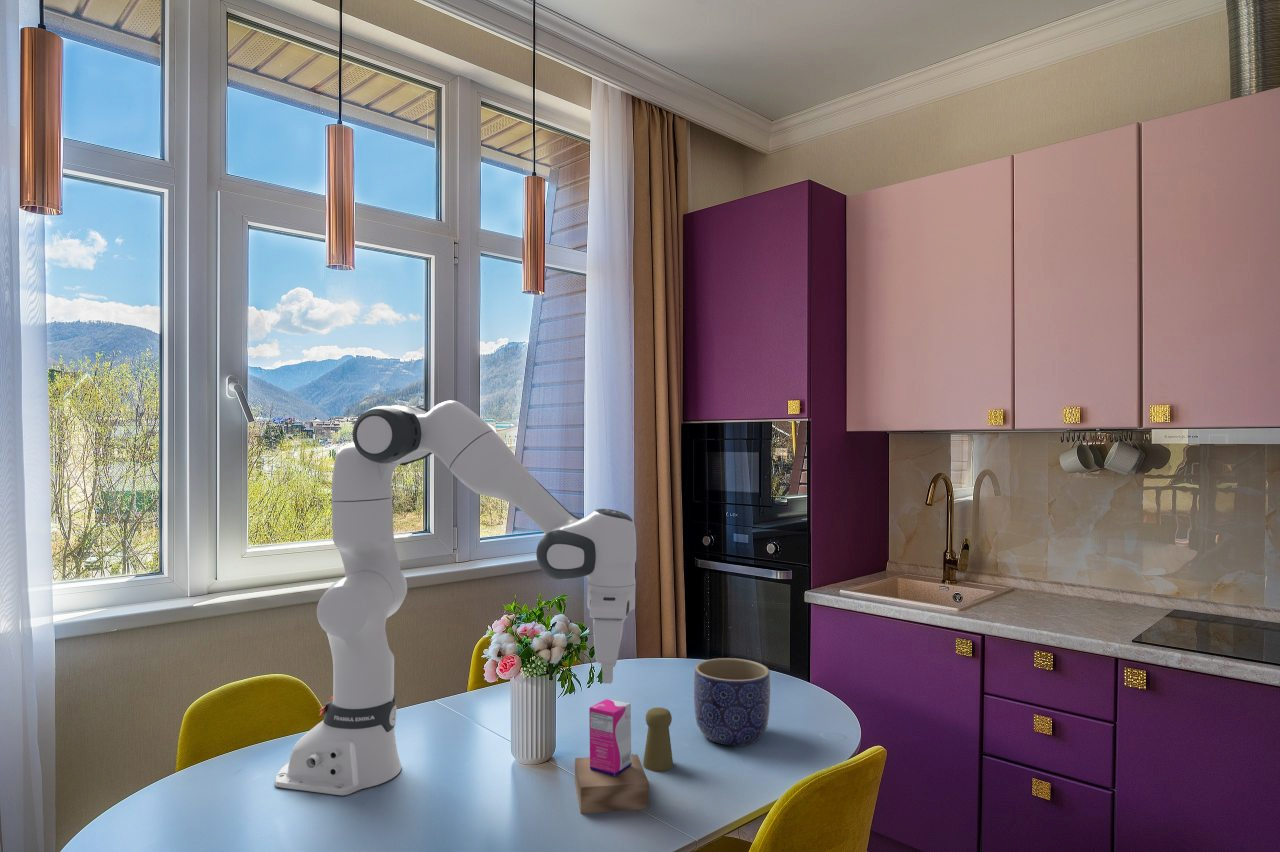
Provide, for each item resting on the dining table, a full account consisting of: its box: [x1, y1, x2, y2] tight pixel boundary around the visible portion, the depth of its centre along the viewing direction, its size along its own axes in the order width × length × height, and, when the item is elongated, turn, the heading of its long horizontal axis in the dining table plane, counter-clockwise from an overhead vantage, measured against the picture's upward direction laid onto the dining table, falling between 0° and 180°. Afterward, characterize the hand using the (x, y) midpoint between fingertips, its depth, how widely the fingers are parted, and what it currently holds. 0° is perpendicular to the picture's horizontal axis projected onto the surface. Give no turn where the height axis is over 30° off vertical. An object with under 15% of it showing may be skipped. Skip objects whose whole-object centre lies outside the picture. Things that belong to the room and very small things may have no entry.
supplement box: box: [588, 698, 632, 776], centre depth 140 cm, size 6×6×12 cm
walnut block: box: [574, 754, 650, 815], centre depth 139 cm, size 12×12×5 cm
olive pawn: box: [642, 707, 674, 772], centre depth 152 cm, size 6×6×11 cm
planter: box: [693, 657, 771, 747], centre depth 166 cm, size 17×17×15 cm
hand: (609, 673), depth 139 cm, fingers open, 8 cm apart
